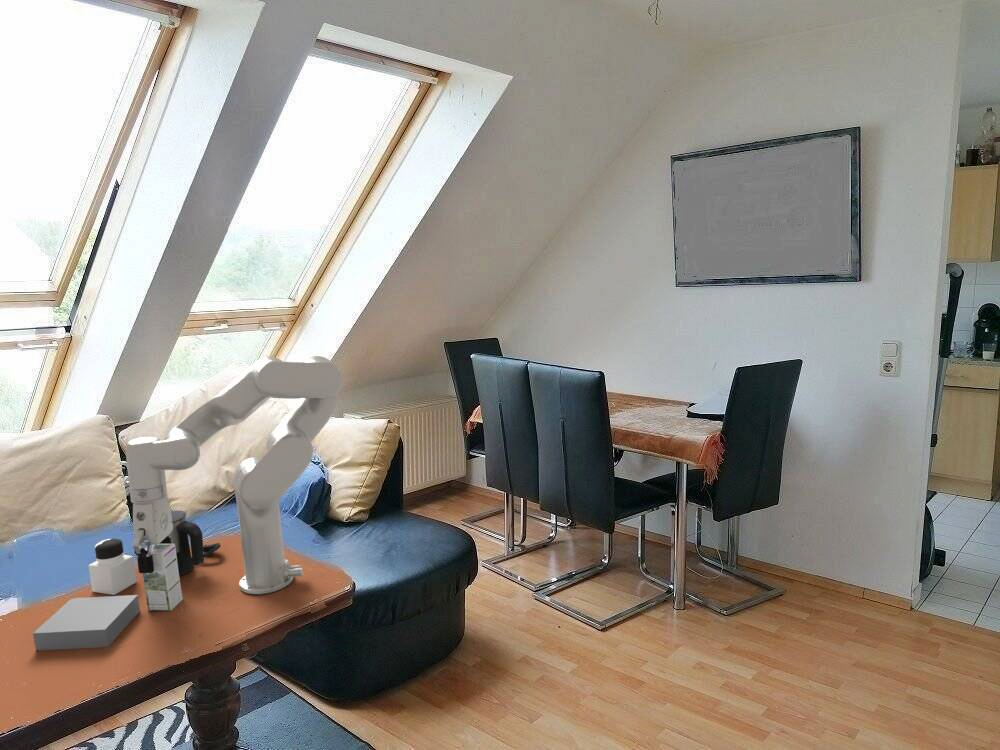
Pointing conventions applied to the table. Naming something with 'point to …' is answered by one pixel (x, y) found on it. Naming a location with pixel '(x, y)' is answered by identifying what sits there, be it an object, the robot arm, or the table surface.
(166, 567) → the syrup box
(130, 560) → the medicine bottle
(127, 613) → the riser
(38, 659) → the table surface
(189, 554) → the milk frother
